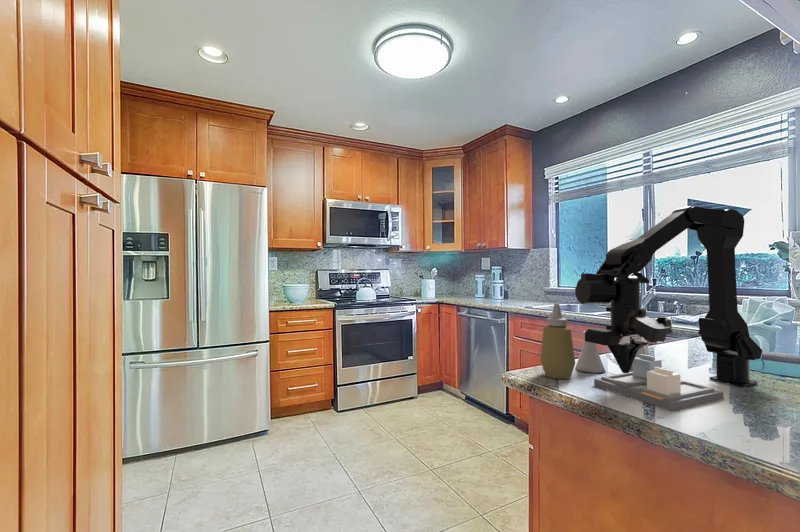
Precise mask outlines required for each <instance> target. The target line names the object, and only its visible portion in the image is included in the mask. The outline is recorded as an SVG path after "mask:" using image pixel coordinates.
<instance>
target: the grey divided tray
mask: <svg viewBox="0 0 800 532" xmlns="http://www.w3.org/2000/svg"><path fill="white" fill-rule="evenodd" d="M593 380H594V381H593V382H594V383H593V386H595V385H596V387H598V386H599V387H598V388H601V387H602V388H601V389H604V388H605V390H607V389H608V390H607V391H610V390H611V391H610V392H613V391H614V393H616V392H617V393H616V394H619V393H620V394H619V395H622V394H623V395H622V396H625V395H626V396H625V397H628V396H629V397H628V398H631V397H632V399H634V398H635V399H634V400H638V401H640V402H643V403H646V404H649V405H652V406H654V405H655V406H654V407H657V406H658V408H660V407H661V408H660V409H663V408H664V409H663V410H667V411H668V412H669V411H670V412H673V411H677V410H682V409H686V408H690V407H695V406H700V405H705V404H708V403H713V402H717V401H721V400H724V398H725V397H724V391H721V390H718V389H716V388H714V387H712V386H707V385H703V384H699V383H695V382H691V381H687V380H683V379H680V383H681V393H679V394H674V395H669V396H668V395H665V394H662V393H658V392H655V391H652V390H648V389H647V379H645V378H642V377H638V376H634V375H633V371H629V373H623V372H622V373H615V374H610V375H603V376H600V377H596V378H594V379H593Z"/></svg>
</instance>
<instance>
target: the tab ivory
mask: <svg viewBox="0 0 800 532" xmlns="http://www.w3.org/2000/svg"><path fill="white" fill-rule="evenodd" d="M680 380H681V373H677V372H674V370H671V369H667V368H663V367H662V368H660V367H654V370H652V371H647V389H648V390H652V391H655V392H658V393H662V394H665V395H668V396H669V395H674V394H679V393H681V383H680Z"/></svg>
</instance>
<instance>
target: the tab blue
mask: <svg viewBox="0 0 800 532" xmlns="http://www.w3.org/2000/svg"><path fill="white" fill-rule="evenodd" d="M662 363H663V362H662V359H659V358H656V357H655V356H652V355H644V354H639V357H636V358H634V361H633V370H632V372H633V375H634V376H638V377H642V378H645V379H647V371H652V370H654V367H660V368H663V365H662Z"/></svg>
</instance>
